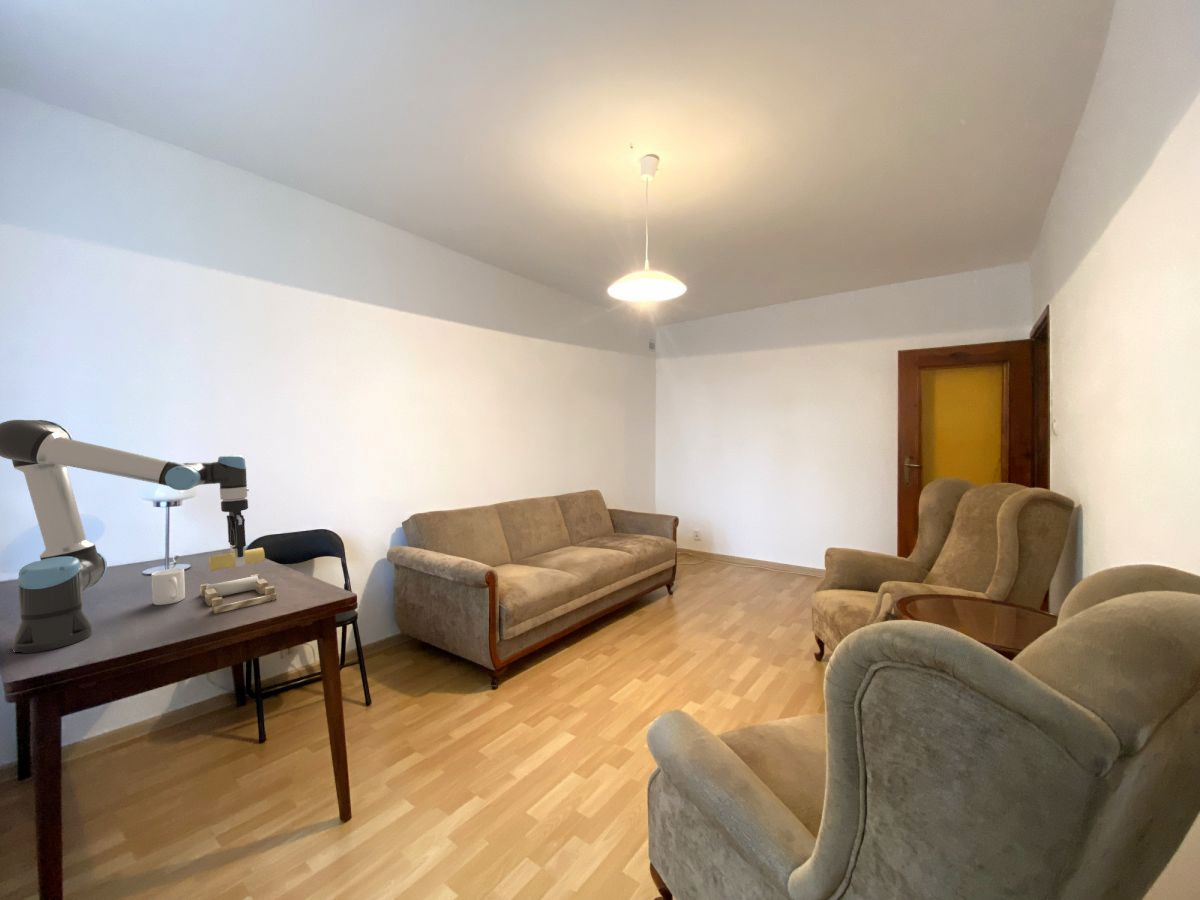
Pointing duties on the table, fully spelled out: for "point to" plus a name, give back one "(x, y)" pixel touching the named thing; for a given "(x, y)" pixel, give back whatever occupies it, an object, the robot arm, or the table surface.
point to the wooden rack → (219, 607)
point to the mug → (168, 586)
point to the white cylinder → (234, 586)
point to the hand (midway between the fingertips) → (238, 564)
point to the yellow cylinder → (229, 559)
